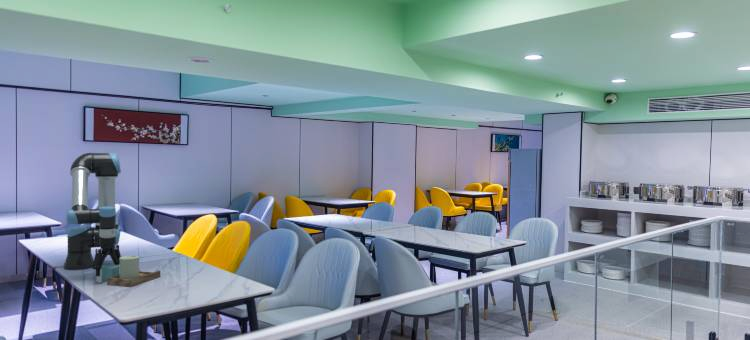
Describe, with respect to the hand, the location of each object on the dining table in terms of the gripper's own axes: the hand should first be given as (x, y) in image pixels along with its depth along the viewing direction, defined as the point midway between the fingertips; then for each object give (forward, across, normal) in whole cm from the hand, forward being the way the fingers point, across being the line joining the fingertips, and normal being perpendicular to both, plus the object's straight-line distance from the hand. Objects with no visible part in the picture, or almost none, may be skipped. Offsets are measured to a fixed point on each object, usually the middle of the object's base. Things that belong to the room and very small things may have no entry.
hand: (107, 279), depth 269 cm
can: (-1, 0, -13) cm, 13 cm away
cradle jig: (0, +4, -13) cm, 14 cm away
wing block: (0, 0, 0) cm, 0 cm away
